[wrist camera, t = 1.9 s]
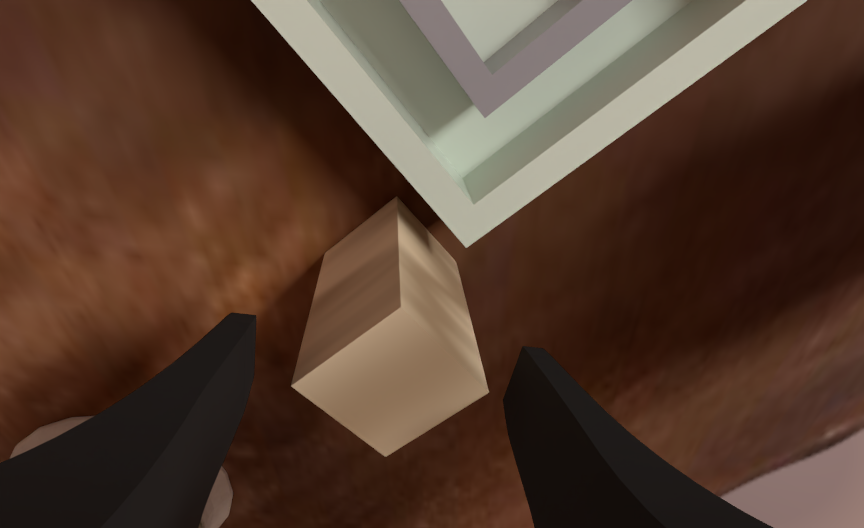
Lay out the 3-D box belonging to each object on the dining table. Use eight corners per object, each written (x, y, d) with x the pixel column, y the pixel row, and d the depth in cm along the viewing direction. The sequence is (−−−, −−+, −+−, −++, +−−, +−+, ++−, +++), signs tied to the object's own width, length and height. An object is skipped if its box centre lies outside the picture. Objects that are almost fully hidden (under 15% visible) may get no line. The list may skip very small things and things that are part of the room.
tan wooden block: (456, 261, 18) (488, 392, 12) (386, 311, 19) (385, 456, 13) (396, 196, 17) (400, 307, 11) (324, 253, 18) (291, 386, 12)
